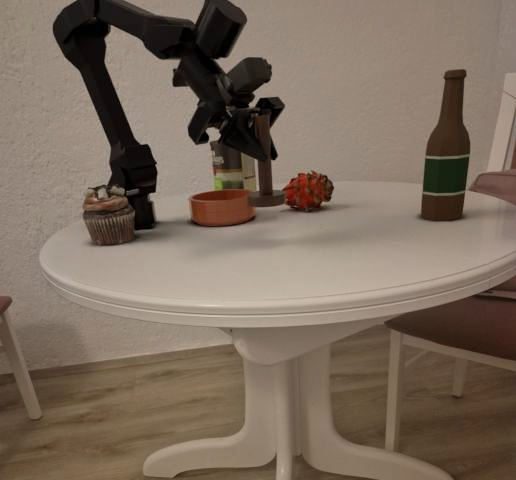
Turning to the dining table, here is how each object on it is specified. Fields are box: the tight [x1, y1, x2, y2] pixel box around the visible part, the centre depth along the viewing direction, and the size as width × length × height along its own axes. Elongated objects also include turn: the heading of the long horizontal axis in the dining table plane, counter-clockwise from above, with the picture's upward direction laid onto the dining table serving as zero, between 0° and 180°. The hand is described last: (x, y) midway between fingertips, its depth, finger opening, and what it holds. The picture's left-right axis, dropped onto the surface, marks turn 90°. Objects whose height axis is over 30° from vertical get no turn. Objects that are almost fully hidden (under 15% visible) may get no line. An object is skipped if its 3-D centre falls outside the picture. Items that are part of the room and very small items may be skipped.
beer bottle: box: [420, 68, 471, 222], centre depth 85 cm, size 8×8×24 cm
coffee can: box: [209, 139, 258, 192], centre depth 114 cm, size 10×10×14 cm
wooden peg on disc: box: [247, 115, 287, 208], centre depth 76 cm, size 6×6×13 cm
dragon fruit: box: [281, 169, 335, 212], centre depth 103 cm, size 8×8×12 cm
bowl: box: [187, 189, 257, 227], centre depth 100 cm, size 14×14×5 cm
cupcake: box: [81, 184, 136, 246], centre depth 90 cm, size 10×10×10 cm
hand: (271, 159), depth 75 cm, fingers closed on wooden peg on disc, 2 cm apart
